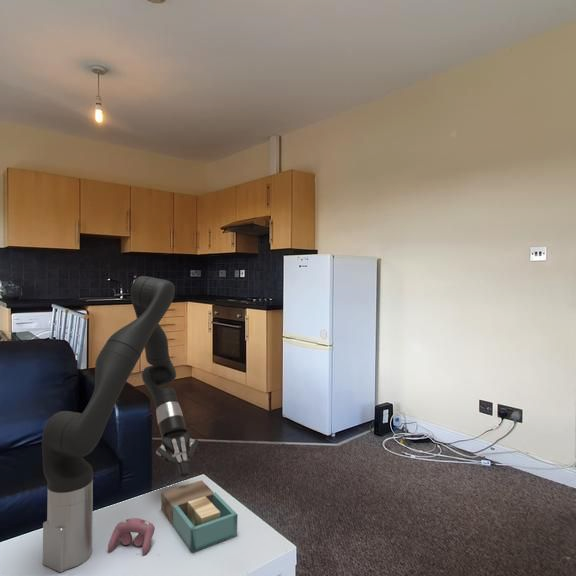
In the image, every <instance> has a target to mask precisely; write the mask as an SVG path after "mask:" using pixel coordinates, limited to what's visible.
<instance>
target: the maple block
mask: <svg viewBox="0 0 576 576" xmlns="http://www.w3.org/2000/svg"><path fill="white" fill-rule="evenodd" d="M218 518H220V511H219V510H218V509H217V508H216V507H215V506H214V505H213V504H212V503H211V502H210V501H209V500H208V498H207V497H206V496H205V497H201V498H198V499H195V500H192V501H189V502H188V519H189V520H190V522H191V523H192V524H193V525H194V527H195V526H198V525H201V524H204V523H207V522H210V521H213V520H215V519H218Z"/></svg>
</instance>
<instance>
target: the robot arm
mask: <svg viewBox="0 0 576 576" xmlns="http://www.w3.org/2000/svg"><path fill="white" fill-rule="evenodd" d="M175 287H176V286H175V284H174V283H173V282H172V281H170V280H167V279H162V278H157V277H153V276H145V275H140V276H138V277H136V278H135V280H134V281H133V282H132V285H131V288H130V299H131V304H132V307H133V309H134V312H135V316H136V319H134V320H133V321H131V322H130V323H128V324H126V325H124V326H123V327H121V328H120V329H118V330H117V331H115V332H114V333H113V334H111V336H109V338H108V339H107V340H106V343H105V344H104V346H103V347H102V348H101V350H100V351H99V353H98V355H97V357H96V360H95V367H94V368H95V369H94V380H95V381H94V382H95V384H94V390H93V393H92V396H91V398H90V400H89V402H88V403H87V405H86V407H85V408H84V410H83V411H82V413H81V412H76V411H75V412H74V411H70V410H62V411H58V412H56V413H54V414H53V415H52V416H51V417H49V419H48V420H47V421H46V424H45V425H44V428H43V432H42V437H41V438H42V439H41V451H42V454H41V455H42V470H43V474H44V477H45V478H44V479H46V482H47V503H46V504H47V509H46V510H47V511H46V513H47V514H46V515H47V516H46V518H47V519H46V521H44V522H43V523H42V565H44V566H46V567H48V568H50V569H51V570H55V571H56V572H59V573H63V572H64V571H66V570H69V569H72V568H75V567H77V566H80V565H82V564H83V563H84V562H86V561H88V559H89V558H90V557H91V555H92V553H93V515H94V514H93V511H94V510H93V508H94V506H93V505H94V503H93V502H94V501H93V500H94V497H93V495H94V492H93V491H94V490H93V489H94V487H93V485H94V475H93V474H94V470H93V466H92V465H91V464H90V463H89V462H88V461H87V460H85V457H86V456H88V455H89V454H91V453H92V452H93V451H94V449H95V448H96V447H97V446H98V444H99V443H100V440H101V438H102V435H103V434H104V431H105V428H106V427H107V424H108V421H109V419H110V417H111V415H112V412H113V410H114V408H115V405H116V402H117V401H118V399H119V397H120V395H121V392H122V391H123V388H124V387H125V385H126V383H127V381H128V379H129V377H130V376H131V374H132V372H133V370H134V368H135V367H136V365H137V363H138V361H139V360H140V358H141V356H142V354H143V351H144V352H145V360H146V362H147V364H149V366H146V367H144V369H143V370H142V373H141V379H142V382H143V383H144V386H145V387H146V388H147V390H148V391H149V393H150V395H151V397H152V400H153V403H154V407H155V413H156V421H157V424H158V429H159V433H160V436H161V442H160V443H161V446H159V447H158V448H157V450H156V452H155V455H156V456H157V457H159V458H160V459H161V460H163V461H164V462H165V463H167V464H168V465H169V466H172V465H174V466H176V469H177V470H176V471H177V473H178V476H179V477H180V478H186V477H188V475H189V473H190V466H189V463H188V461H190V460H191V459H192V457H193V455H194V453H195V450H196V448H197V447H198V444H199V440H198V439H197V438H196V439H193V438H191V435H190V434H189V432H188V429H187V427H186V426H187V425H186V422H185V418H184V414H183V410H182V409H181V406H180V404H179V403H180V402H179V400H178V396H177V393H176V389H174V388H173V387H171V386H165V385H168V384H172V383H174V382H175V380H176V377H177V371H176V369H175V366H174V365H173V363H172V362H173V361H172V360H171V357H170V353H169V342H168V341H169V340H168V337H167V335H166V332H165V331H164V329H163V328H162V326H161V325H160V322H161V320H162V318H164V316H165V314H166V313H167V311H168V310H169V308H170V307H171V305H172V303H173V301H174V298H175V294H176V293H175V292H176V288H175ZM188 445H189V447H190V449H189V451H188V453H187V448H188Z"/></svg>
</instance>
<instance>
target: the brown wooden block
mask: <svg viewBox="0 0 576 576" xmlns="http://www.w3.org/2000/svg"><path fill="white" fill-rule="evenodd" d="M212 493H215V492H214V491H213V490H212V489H211V488H210V487H209V485H207V483H205V482H204V481H203V480H198V481H195V482H191V483H188V484H184V485H180V486H177V487H173V488H170V489H166V490H164V491H161V498H160V500H161V501H160V503H161V504H160V506H161V507H160V509H161V511H162V513H163V515H165V518H167V519H168V521H169V523H170V524H171V526H172V527H173V505H176V504H177V505H178V506H179V508H180V509H181V510H182V511H183V513H184V514H185V515H186V516H187V518H188V502H189V501H192V500H195V499H198V498H201V497H205V496H206V497H207V498H208V500H209V501H210V502H211V503H212Z"/></svg>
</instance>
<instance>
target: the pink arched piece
mask: <svg viewBox="0 0 576 576" xmlns="http://www.w3.org/2000/svg"><path fill="white" fill-rule="evenodd" d="M132 533H133V534H134V533H135V534H137V535H136V536H135V537H134V539H133V534H132ZM154 534H155V525H154V524H153V523H151V522H150V521H148V520H146V519H144V518H137V517H134V518H133V517H132V518H127V519H123V520H121V521H120V522H118V523H117V524H116V526H115V528H114V530H113V532H112V534H111V536H110V540H109V542H108V547H107V549H108V552H113V550H114V549H115V548H116V546H117V544H118V543H119V541H121V544H122V545H124V546H127V545H131V543H132V541H133V543H134V545H135V546H136V547H140V546H142V547H141V553H142V554H143V555H146V554H147V553H148V552H149V549H150V548H151V544H152V540H153V535H154Z"/></svg>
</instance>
